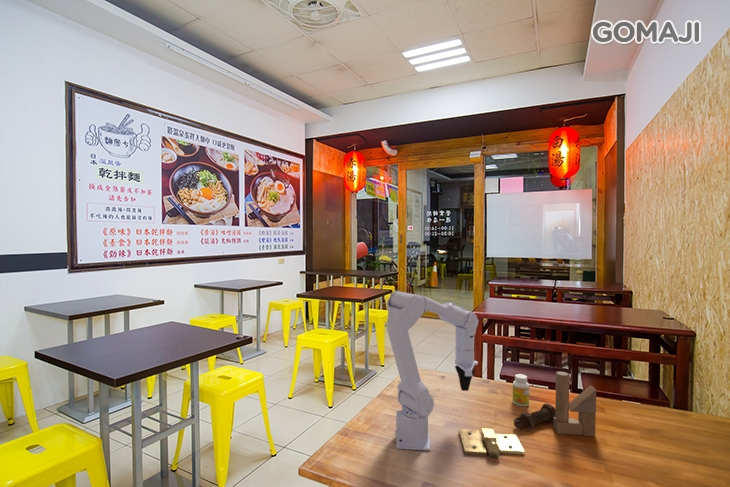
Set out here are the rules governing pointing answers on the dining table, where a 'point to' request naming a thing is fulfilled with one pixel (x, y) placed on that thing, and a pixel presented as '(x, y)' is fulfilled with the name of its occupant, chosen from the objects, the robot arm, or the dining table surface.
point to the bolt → (535, 417)
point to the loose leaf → (503, 442)
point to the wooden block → (574, 409)
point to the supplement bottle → (521, 390)
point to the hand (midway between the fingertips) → (464, 389)
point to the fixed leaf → (478, 444)
